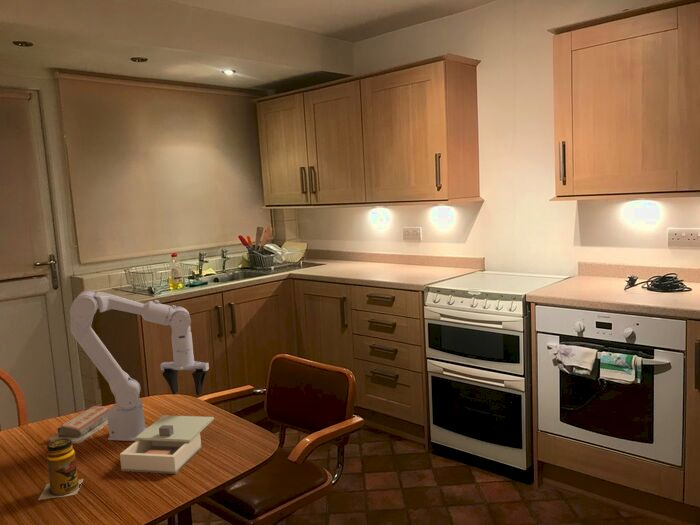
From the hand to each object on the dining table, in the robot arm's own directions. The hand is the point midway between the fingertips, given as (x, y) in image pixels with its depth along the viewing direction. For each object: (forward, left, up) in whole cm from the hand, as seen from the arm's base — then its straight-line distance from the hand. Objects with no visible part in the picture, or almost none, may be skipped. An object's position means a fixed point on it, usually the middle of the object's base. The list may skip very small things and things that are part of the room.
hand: (187, 393), depth 171 cm
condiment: (-14, -38, -10) cm, 42 cm away
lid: (+3, -13, -5) cm, 14 cm away
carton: (+3, -21, -10) cm, 23 cm away
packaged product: (-32, -6, -11) cm, 34 cm away
